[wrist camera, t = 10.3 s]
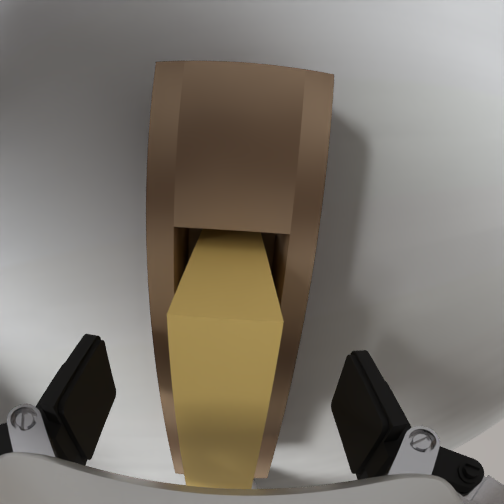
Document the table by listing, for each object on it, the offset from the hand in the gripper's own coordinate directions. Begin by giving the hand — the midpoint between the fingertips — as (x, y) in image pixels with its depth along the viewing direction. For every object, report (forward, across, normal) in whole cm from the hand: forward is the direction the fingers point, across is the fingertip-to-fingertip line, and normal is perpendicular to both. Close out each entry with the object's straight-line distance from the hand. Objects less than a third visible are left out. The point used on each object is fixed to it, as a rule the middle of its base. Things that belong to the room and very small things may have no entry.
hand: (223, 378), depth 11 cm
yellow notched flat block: (+5, 0, 0) cm, 5 cm away
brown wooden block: (+6, 0, 0) cm, 6 cm away
